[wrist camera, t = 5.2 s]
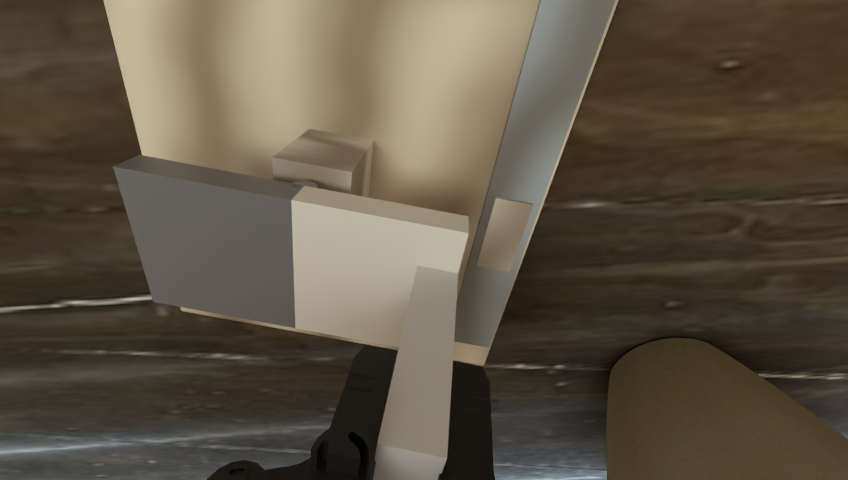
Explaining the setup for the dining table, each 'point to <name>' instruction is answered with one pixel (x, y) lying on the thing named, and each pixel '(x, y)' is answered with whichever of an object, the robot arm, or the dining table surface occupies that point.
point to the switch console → (374, 109)
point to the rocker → (283, 248)
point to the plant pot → (710, 421)
